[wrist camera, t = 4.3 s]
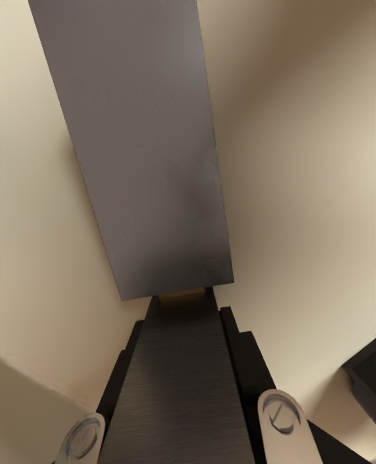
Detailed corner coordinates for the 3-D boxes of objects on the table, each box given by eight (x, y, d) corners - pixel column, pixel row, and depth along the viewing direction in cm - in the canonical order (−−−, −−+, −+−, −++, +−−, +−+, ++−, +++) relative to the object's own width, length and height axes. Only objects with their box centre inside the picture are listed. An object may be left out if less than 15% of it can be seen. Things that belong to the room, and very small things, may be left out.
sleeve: (189, 59, 11) (189, -50, 6) (217, 248, 13) (234, 282, 9) (98, 79, 11) (25, -8, 6) (145, 260, 14) (121, 300, 9)
